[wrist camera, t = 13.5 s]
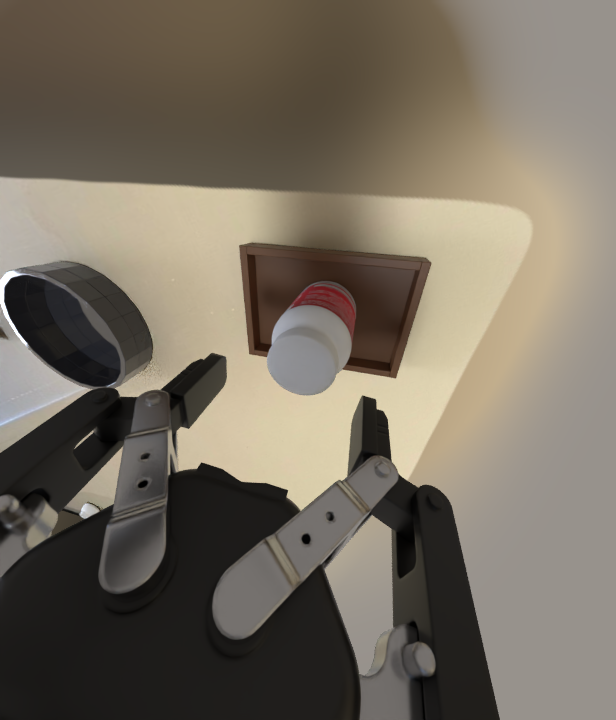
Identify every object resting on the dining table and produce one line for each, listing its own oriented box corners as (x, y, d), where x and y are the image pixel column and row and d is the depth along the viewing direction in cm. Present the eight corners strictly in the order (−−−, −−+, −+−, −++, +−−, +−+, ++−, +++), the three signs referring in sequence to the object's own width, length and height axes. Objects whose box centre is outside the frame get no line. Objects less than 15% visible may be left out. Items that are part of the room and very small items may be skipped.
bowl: (30, 236, 28) (-22, 239, 25) (156, 302, 29) (125, 315, 26) (53, 341, 37) (18, 355, 34) (149, 389, 38) (125, 408, 35)
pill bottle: (302, 273, 23) (258, 311, 14) (364, 287, 23) (360, 338, 13) (293, 329, 27) (253, 391, 17) (347, 343, 26) (335, 414, 17)
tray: (426, 258, 21) (431, 262, 19) (394, 366, 27) (395, 378, 25) (249, 242, 23) (238, 245, 21) (257, 345, 29) (249, 354, 27)
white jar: (82, 501, 74) (92, 509, 76) (72, 510, 71) (82, 519, 74) (95, 503, 72) (103, 512, 75) (85, 513, 70) (94, 522, 72)
